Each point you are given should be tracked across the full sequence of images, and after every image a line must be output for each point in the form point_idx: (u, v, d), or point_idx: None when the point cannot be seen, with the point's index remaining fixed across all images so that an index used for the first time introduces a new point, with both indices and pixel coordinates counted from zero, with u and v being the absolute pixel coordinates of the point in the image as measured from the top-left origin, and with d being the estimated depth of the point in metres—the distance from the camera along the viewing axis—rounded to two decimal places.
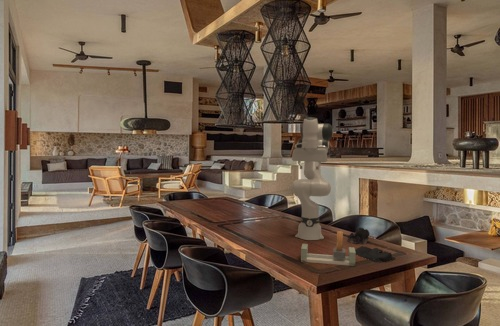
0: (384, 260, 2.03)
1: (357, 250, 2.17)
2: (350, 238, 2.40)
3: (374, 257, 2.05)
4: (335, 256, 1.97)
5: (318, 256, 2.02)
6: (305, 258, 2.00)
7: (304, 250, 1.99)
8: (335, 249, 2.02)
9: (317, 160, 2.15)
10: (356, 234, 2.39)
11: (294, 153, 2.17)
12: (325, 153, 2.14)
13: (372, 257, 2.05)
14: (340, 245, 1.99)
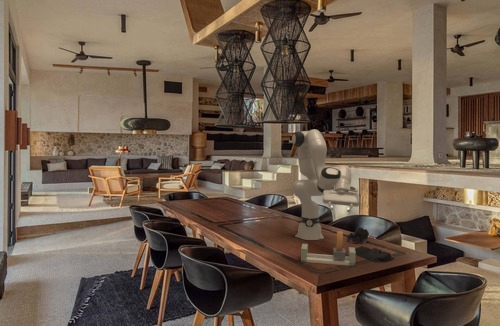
0: (383, 260, 2.02)
1: (356, 250, 2.17)
2: (349, 238, 2.40)
3: (373, 257, 2.04)
4: (335, 256, 1.97)
5: (318, 256, 2.02)
6: (305, 258, 2.00)
7: (304, 250, 1.99)
8: (335, 249, 2.02)
9: None
10: (355, 234, 2.39)
11: None
12: None
13: (371, 257, 2.05)
14: (340, 245, 1.99)
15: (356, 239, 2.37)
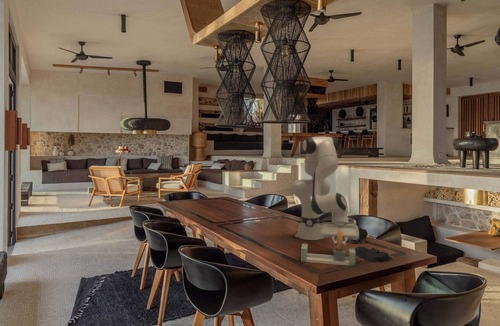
0: (381, 260, 2.02)
1: None
2: None
3: (371, 257, 2.04)
4: (335, 256, 1.97)
5: (318, 256, 2.02)
6: (305, 258, 2.00)
7: (304, 250, 1.99)
8: (335, 249, 2.02)
9: None
10: None
11: None
12: None
13: (369, 257, 2.05)
14: (340, 245, 1.99)
15: None
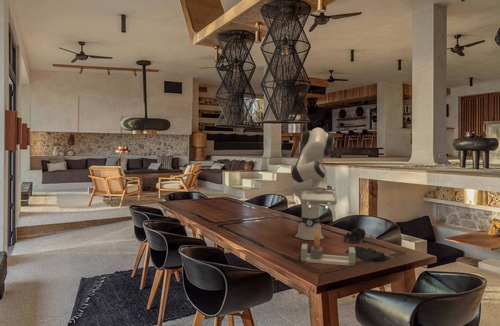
0: (376, 260, 2.02)
1: None
2: (346, 238, 2.41)
3: (367, 257, 2.04)
4: (312, 254, 2.00)
5: (318, 256, 2.02)
6: (305, 258, 2.00)
7: (304, 250, 1.99)
8: (312, 247, 2.04)
9: None
10: (352, 234, 2.40)
11: None
12: None
13: (365, 257, 2.05)
14: (317, 243, 2.01)
15: (353, 239, 2.38)
